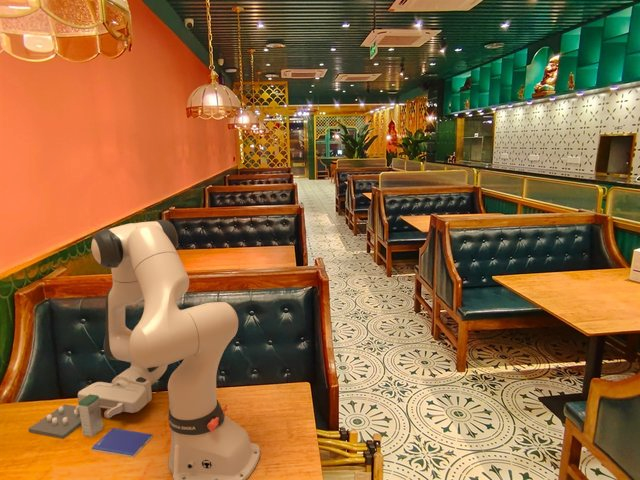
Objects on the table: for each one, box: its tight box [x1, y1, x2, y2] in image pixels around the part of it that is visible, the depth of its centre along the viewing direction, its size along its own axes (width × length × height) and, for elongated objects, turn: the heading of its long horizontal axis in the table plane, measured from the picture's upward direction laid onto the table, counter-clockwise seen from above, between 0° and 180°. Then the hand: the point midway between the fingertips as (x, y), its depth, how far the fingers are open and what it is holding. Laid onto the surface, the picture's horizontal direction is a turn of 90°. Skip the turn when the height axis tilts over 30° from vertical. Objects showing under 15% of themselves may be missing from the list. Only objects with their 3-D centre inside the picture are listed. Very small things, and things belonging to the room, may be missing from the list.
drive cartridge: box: [77, 394, 104, 438], centre depth 117 cm, size 3×4×10 cm
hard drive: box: [91, 428, 154, 458], centre depth 113 cm, size 2×8×12 cm
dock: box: [28, 404, 82, 440], centre depth 122 cm, size 12×12×3 cm
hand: (92, 413), depth 117 cm, fingers open, 8 cm apart
